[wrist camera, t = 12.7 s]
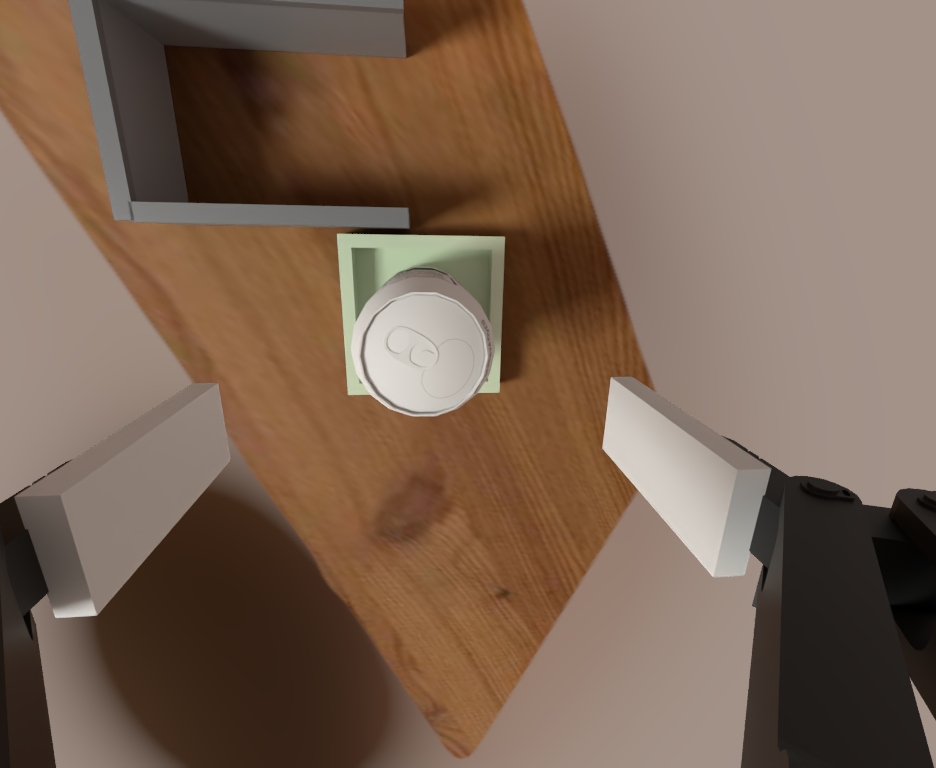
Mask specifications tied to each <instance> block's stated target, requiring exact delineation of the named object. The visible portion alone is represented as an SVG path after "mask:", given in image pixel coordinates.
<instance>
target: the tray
mask: <svg viewBox="0 0 936 768" xmlns="http://www.w3.org/2000/svg"><path fill="white" fill-rule="evenodd" d="M337 241H338V256H339V270H340V284H341V299H342V313H343V328H344V342H345V356H346V371H347V385H348V395H370V394H369V392H368V391H367V389H366V388H365V386H364V385H363V383H362V382H361V380H360V379H359V377H358V376H357V374H356V370H355V366H354V362H353V357H352V353H351V344H352V336H353V329H354V324H355V322H356V321H357V319H358V317H359V315H360V313H361V311H362V310H363V308H364V306H365V304H366V303H367V302H368V300H369V299H370V298H371V297H372V296H373V295H374V294H375V293H376V292H377V291H378V290H379V289H380V288H381V287H382V286H383V285H384V284H385V283H386V282H387V281H388V280H389V279H390V278H392V277H393V276H394V275H395V274H396V273H398V272H400V271H403V270H405V269H408V268H411V267H414V266H426V267H434V268H437V269H439V270H442V271H444V272H447V273H449V274H450V275H451V276H452V277H453V278H455V279H456V280H457V281H458V282H459V283H460V284H461V285H462V286H463V287H464V288H465V289H466V290H467V291H468V292H469V293H470V294H471V295H472V296H473V297H474V299H475V300H476V301H477V302H478V303H479V304H480V305H481V307H482V309H483V311H484V313H485V315H486V316H487V318H488V320H489V322H490V324H491V326H492V332H493V339H494V347H495V353H494V357H493V362H492V366H491V371H490V374H489V376H488V377H487V379H486V381H485V382H484V384H483V385H482V387H481V388H480V390H479V392H478V393H494V392H499V387H500V360H501V333H502V306H503V279H504V252H505V237H500V236H440V235H380V234H337Z"/></svg>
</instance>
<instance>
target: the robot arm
mask: <svg viewBox="0 0 936 768" xmlns="http://www.w3.org/2000/svg"><path fill="white" fill-rule="evenodd" d="M603 450H604V451H605V452H606V453H607V454H608V455H609V457H610V458H611V459H612V460H613V461H614V462H615V464H616V465H617V466H618V467H619V468H620V469H621V470H622V472H623V473H624V474H625V475H626V476H627V477H628V479H629V480H630V481H631V482H632V483H633V484H634V486H635V487H636V488H637V489H638V490H639V491H640V493H641V494H642V495H643V496H644V497H645V498H646V500H647V501H648V502H649V503H650V504H651V505H652V507H653V508H654V509H655V510H656V511H657V512H658V513H659V515H660V516H661V517H662V518H663V519H664V520H665V522H666V523H667V524H668V525H669V526H670V527H671V529H672V530H673V531H674V532H675V533H676V534H677V536H678V537H679V538H680V539H681V540H682V541H683V543H684V544H685V545H686V546H687V547H688V548H689V550H690V551H691V552H692V553H693V554H694V555H695V556H696V557H697V559H698V560H699V561H700V562H701V563H702V565H703V566H704V567H705V568H706V569H707V570H708V571H709V573H710V574H711V575H712V576H713V577H726V576H742V575H745V572H746V568H747V564H748V560H749V556H750V552H751V553H752V554H753V555H754V556H755V557H756V558H757V559H758V560H759V561H761V562H762V564H763V566H762V570H761V574H760V578H759V582H758V585H757V589H756V593H755V597H754V600H753V604H752V606H753V607H756V618H755V628H754V639H753V648H752V659H751V669H750V679H749V690H748V700H747V711H746V721H745V731H744V742H743V752H742V763H741V768H934V766H933V762H932V759H931V755H930V752H929V748H928V744H927V740H926V736H925V733H924V729H923V725H922V722H921V718H920V714H919V711H918V707H917V703H916V700H915V696H914V692H913V689H912V685H911V681H910V678H911V680H912V682H913V683H914V685H915V687H916V688H917V690H918V692H919V693H920V695H921V697H922V698H923V700H924V702H925V703H926V705H927V706H928V708H929V710H930V712H931V713H932V715H933V717H934V718H935V720H936V491H926V490H920V489H910V488H908V489H901V490H899V491H898V492H897V494H896V496H895V500H894V502H893V505H892V508H885V507H877V506H869V505H862V501H861V500H860V499H859V497H858V496H857V495H856V494H855V493H853V492H852V491H850V490H849V489H847V488H845V487H842V486H840V485H838V484H836V483H833V482H830V481H827V480H824V479H820V478H814V477H808V476H793V477H789V476H788V475H786V474H785V473H783V472H782V471H780V470H778V469H777V468H775V467H774V466H772V465H771V464H769V463H768V462H766V461H765V460H763V459H759V457H758V456H757V455H755V454H754V453H752V452H751V451H748V450H747V449H746V448H745V447H743V446H741V445H740V444H738V443H737V442H735V441H733V440H731V439H728V438H726V437H723V436H721V435H719V434H718V433H716V432H715V431H713V430H712V429H710V428H709V427H707V426H706V425H704V424H703V423H701V422H700V421H698V420H697V419H695V418H694V417H692V416H690V415H689V414H687V413H686V412H685V411H683V410H682V409H680V408H678V407H677V406H675V405H674V404H672V403H671V402H669V401H668V400H666V399H665V398H663V397H662V396H660V395H659V394H657V393H656V392H654V391H653V390H651V389H650V388H648V387H647V386H645V385H644V384H642V383H641V382H639V381H638V380H636V379H635V378H633V377H611V382H610V390H609V399H608V407H607V415H606V424H605V432H604V440H603ZM229 461H230V453H229V447H228V441H227V434H226V428H225V422H224V416H223V410H222V404H221V398H220V392H219V386H218V383H193V384H191V385H190V386H188V387H187V388H185V389H183V390H182V391H180V392H179V393H177V394H175V395H174V396H172V397H171V398H169V399H168V400H166V401H164V402H163V403H161V404H160V405H158V406H157V407H155V408H153V409H152V410H150V411H149V412H147V413H145V414H144V415H142V416H141V417H139V418H138V419H136V420H135V421H133V422H131V423H130V424H128V425H127V426H125V427H123V428H122V429H121V430H119V431H117V432H116V433H114V434H112V435H111V436H109V437H108V438H106V439H105V440H103V441H101V442H100V443H98V444H97V445H95V446H94V447H92V448H90V449H89V450H87V451H86V452H84V453H82V454H81V455H79V456H78V457H76V458H75V459H73V460H70V461H68V462H65V463H64V464H62V465H60V466H59V467H57V468H56V469H54V470H53V471H51V472H49V473H48V474H47V476H43V477H42V478H40V479H38V480H37V481H35V482H33V483H32V486H27V487H26V488H24V489H22V490H21V491H19V492H18V493H16V494H14V495H13V496H11V497H10V498H8V499H7V500H5V501H3V502H2V503H0V768H56V764H55V758H54V750H53V743H52V736H51V729H50V722H49V715H48V708H47V700H46V693H45V686H44V679H43V672H42V666H41V658H40V651H39V644H38V637H37V630H36V624H35V621H34V618H33V615H32V613H31V610H30V609H31V608H32V607H33V606H35V604H37V603H38V602H39V601H40V600H41V599H42V598H43V597H44V596H45V595H46V594H47V595H48V597H49V600H50V603H51V606H52V609H53V612H54V615H55V618H64V617H78V616H96V615H98V614H99V612H100V611H101V610H102V609H103V608H104V607H105V606H106V604H107V603H108V602H109V601H110V600H111V599H112V597H113V596H114V595H115V594H116V593H117V592H118V590H119V589H120V588H121V587H122V586H123V585H124V583H125V582H126V581H127V580H128V579H129V578H130V576H131V575H132V574H133V573H134V572H135V570H136V569H137V568H138V567H139V566H140V565H141V563H142V562H143V561H144V560H145V559H146V558H147V557H148V555H149V554H150V553H151V552H152V551H153V550H154V549H155V547H156V546H157V545H158V544H159V543H160V542H161V540H162V539H163V538H164V537H165V536H166V535H167V533H168V532H169V531H170V530H171V529H172V528H173V526H174V525H175V524H176V523H177V522H178V521H179V519H180V518H181V517H182V516H183V515H184V513H186V511H187V510H188V509H189V508H190V507H191V506H192V504H193V503H194V502H195V501H196V500H197V499H198V497H199V496H200V495H201V494H202V493H203V492H204V490H205V489H206V488H207V487H208V486H209V485H210V483H211V482H212V481H213V480H214V479H215V478H216V476H217V475H218V474H219V473H220V472H221V470H223V468H224V467H225V466H226V465H227V464H228V463H229ZM909 677H910V678H909Z"/></svg>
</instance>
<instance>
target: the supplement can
mask: <svg viewBox="0 0 936 768" xmlns="http://www.w3.org/2000/svg"><path fill="white" fill-rule="evenodd" d="M351 353H352V357H353V362H354V366H355V370H356V374H357V376H358V377H359V379H360V380H361V382H362V383H363V385H364V386H365V388H366V389H367V391H368V392H369V394H370V395H371V396H373V397H374V398H375V399H377V400H378V401H379V402H381V403H382V404H383V405H385V406H386V407H387V408H389V409H391V410H394V411H397V412H400V413H403V414H406V415H410V416H438V415H441V414H444V413H447V412H449V411H452V410H455V409H458V408H460V407H461V406H462V405H463V404H465V403H466V402H467V401H468V400H470V399H471V398H472V397H474V396H475V395H476V394H477V393H478V392H479V390H480V388H481V387H482V385H483V384H484V382H485V381H486V379H487V377H488V376H489V374H490V371H491V366H492V362H493V357H494V353H495V347H494V339H493V332H492V326H491V324H490V322H489V320H488V318H487V316H486V315H485V313H484V311H483V309H482V307H481V305H480V304H479V303H478V302H477V301H476V300H475V299H474V297H473V296H472V295H471V294H470V293H469V292H468V291H467V290H466V289H465V288H464V287H463V286H462V285H461V284H460V283H459V282H458V281H457V280H456V279H455V278H453V277H452V276H451V275H450V274H449V273H447V272H444V271H442V270H439V269H437V268H434V267H426V266H414V267H411V268H408V269H405V270H403V271H400V272H398V273H396V274H395V275H394V276H393V277H392V278H390V279H389V280H388V281H387V282H386V283H385V284H384V285H383V286H382V287H381V288H380V289H379V290H378V291H377V292H376V293H375V294H374V295H373V296H372V297H371V298H370V299H369V300H368V302H367V303H366V304H365V306H364V308H363V310H362V311H361V313H360V315H359V317H358V319H357V321H356V322H355V324H354V329H353V336H352V344H351Z"/></svg>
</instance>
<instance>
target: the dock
mask: <svg viewBox="0 0 936 768" xmlns="http://www.w3.org/2000/svg"><path fill="white" fill-rule="evenodd" d="M68 2H69V6H70V11H71V16H72V21H73V25H74V30H75V35H76V40H77V45H78V49H79V54H80V59H81V64H82V69H83V73H84V78H85V83H86V88H87V93H88V97H89V102H90V107H91V112H92V117H93V121H94V126H95V131H96V136H97V140H98V145H99V150H100V155H101V160H102V164H103V169H104V174H105V179H106V184H107V188H108V193H109V198H110V203H111V208H112V212H113V217H114V220H119V221H131V222H136V223H160V224H173V225H210V226H265V227H321V228H377V229H410V215H409V208H394V207H349V206H305V205H260V204H216V203H189V201H188V194H187V188H186V182H185V176H184V169H183V163H182V157H181V151H180V144H179V138H178V132H177V126H176V119H175V113H174V107H173V101H172V94H171V88H170V82H169V76H168V69H167V63H166V57H165V51H164V45H172V46H190V47H209V48H227V49H245V50H264V51H282V52H301V53H319V54H337V55H356V56H374V57H393V58H406V37H405V25H404V0H68Z"/></svg>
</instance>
